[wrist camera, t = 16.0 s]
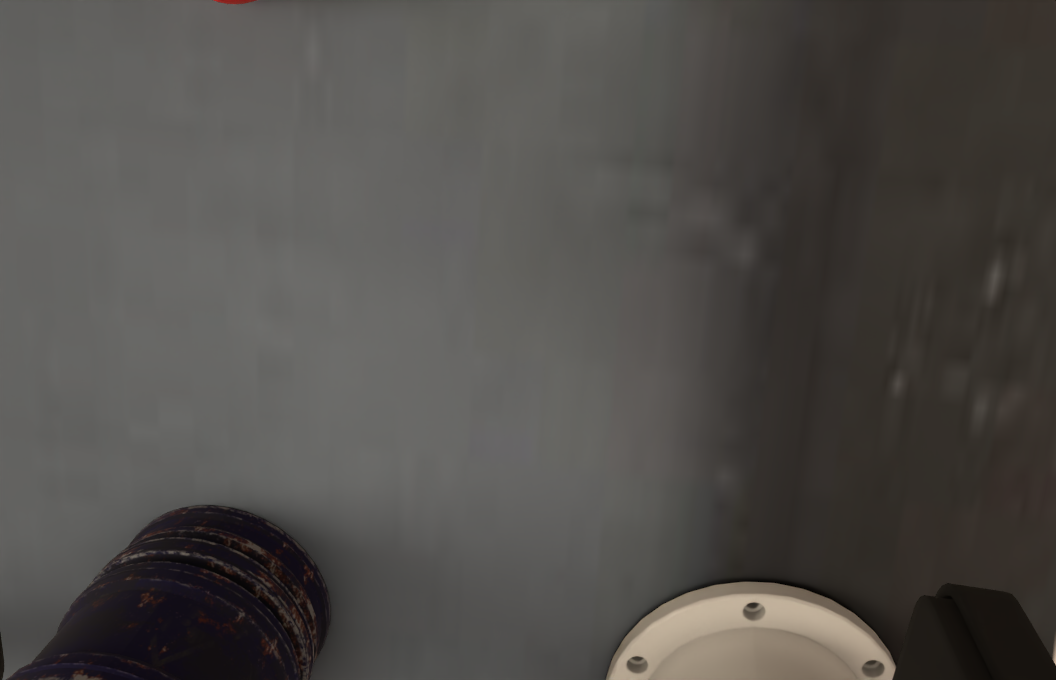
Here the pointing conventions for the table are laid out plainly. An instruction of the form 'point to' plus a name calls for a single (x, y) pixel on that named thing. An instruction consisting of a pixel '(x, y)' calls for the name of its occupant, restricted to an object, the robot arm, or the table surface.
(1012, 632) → the robot arm
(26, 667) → the storage jar
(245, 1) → the strawberry
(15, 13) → the table surface
